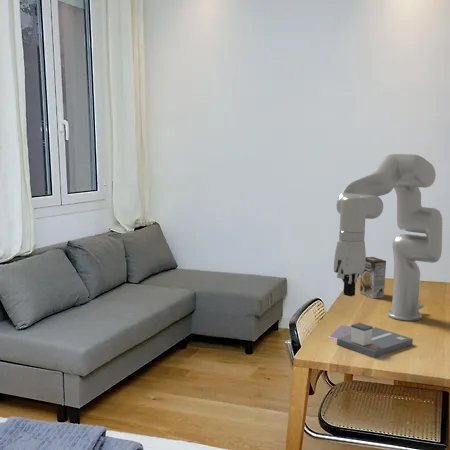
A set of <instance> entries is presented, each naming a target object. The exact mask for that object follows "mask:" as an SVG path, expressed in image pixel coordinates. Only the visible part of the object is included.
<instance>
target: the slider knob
mask: <svg viewBox="0 0 450 450" xmlns="http://www.w3.org/2000/svg"><path fill="white" fill-rule="evenodd" d="M350 326H351V327H352V331H351V342H354V343H357V344H360V345H362V346H365V345H368V344H371V343H372V329H373V328H374V327H373V326H372V325H368V324H365V323H362V322H357V323H354V324H350Z"/></svg>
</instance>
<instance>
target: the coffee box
mask: <svg viewBox="0 0 450 450" xmlns="http://www.w3.org/2000/svg"><path fill="white" fill-rule="evenodd" d="M386 266H387V260H385V259H381V258H378V257H375V256H366V263H365V270H364V271H363V274H362V275H360V286H359V288H360V289H359V293H360V294H361V295H363V296H366V297H368V298H370V299H371V298H372V299H379V298H384V297H385V288H386V287H385V283H386V270H387V269H386V268H387V267H386Z"/></svg>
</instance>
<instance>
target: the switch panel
mask: <svg viewBox="0 0 450 450" xmlns="http://www.w3.org/2000/svg"><path fill="white" fill-rule="evenodd" d="M413 339H414V338H411V337H408V336H405V335H402V334H400V333H395V332H392V331H388V330H386V329H382V328H379V327H376V326H374V327H373V329H372V343H371V344H368V345H365V346H362V345H360V344H357V343H354V342H351V335H347V336H344V337H341V338H337V340H336V345H337V346H339V347H343V348H346V349H349V350H351V351H354V352H357V353H361V354H362V355H365V356H368V357H371V358H373V359H375V358H378V357H381V356H384V355H387V354H390V353H392V352H394V351H399V350H401V349H404V348H406V347H409V346H412V345H413Z"/></svg>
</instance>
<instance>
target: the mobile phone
mask: <svg viewBox="0 0 450 450" xmlns="http://www.w3.org/2000/svg"><path fill="white" fill-rule="evenodd" d="M351 331H352V327H351V325H345V324H343V325H340V326H339V327H337V328H336V329H335V330H334V331H333V332H331V334H329V336H328V338H329V339H331V340H336V339H337V338H341V337H344V336H347V335H351Z"/></svg>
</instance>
